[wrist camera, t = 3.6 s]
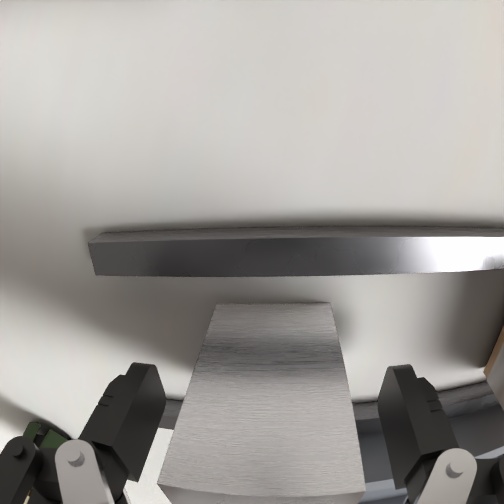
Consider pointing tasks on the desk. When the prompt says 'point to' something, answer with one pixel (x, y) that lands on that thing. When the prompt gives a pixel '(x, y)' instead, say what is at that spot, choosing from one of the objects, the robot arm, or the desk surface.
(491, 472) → the robot arm
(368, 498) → the tray
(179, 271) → the slide rails
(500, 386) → the slider
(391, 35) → the desk surface
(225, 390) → the stop block
